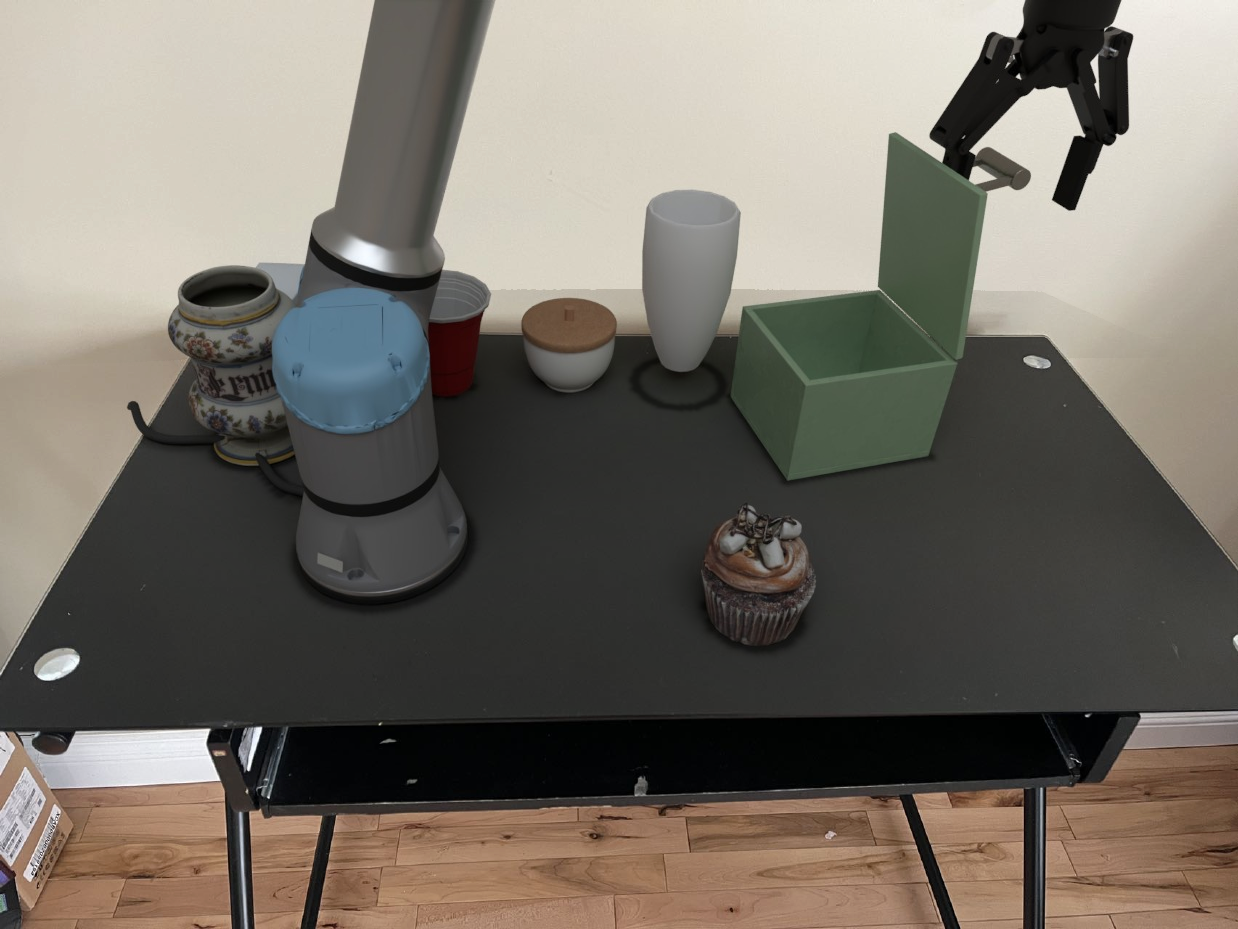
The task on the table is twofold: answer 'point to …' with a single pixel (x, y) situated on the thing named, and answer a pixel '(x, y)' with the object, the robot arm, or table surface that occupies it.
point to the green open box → (839, 382)
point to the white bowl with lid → (569, 342)
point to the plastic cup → (455, 331)
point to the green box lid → (936, 236)
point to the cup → (687, 272)
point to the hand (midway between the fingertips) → (1005, 211)
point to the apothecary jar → (234, 359)
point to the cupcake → (757, 577)
